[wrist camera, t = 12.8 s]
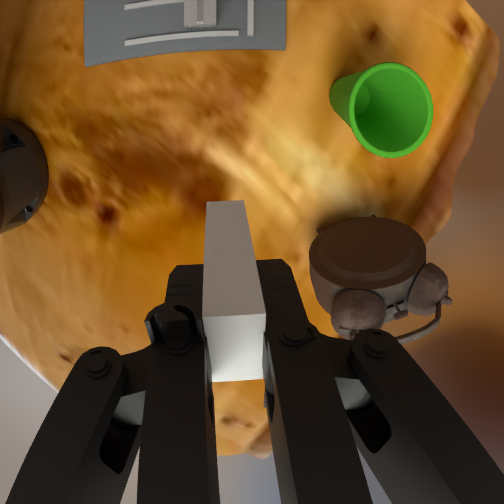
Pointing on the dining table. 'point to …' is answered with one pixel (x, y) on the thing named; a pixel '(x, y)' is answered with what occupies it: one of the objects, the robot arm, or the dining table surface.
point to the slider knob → (199, 14)
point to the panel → (177, 28)
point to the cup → (385, 108)
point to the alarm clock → (375, 276)
